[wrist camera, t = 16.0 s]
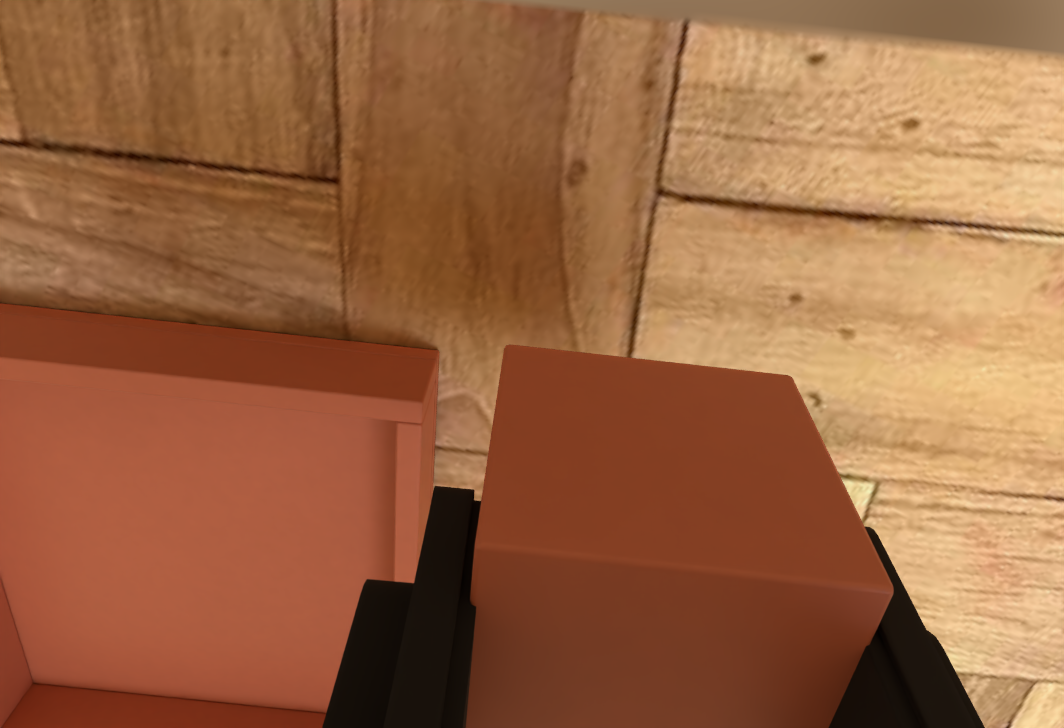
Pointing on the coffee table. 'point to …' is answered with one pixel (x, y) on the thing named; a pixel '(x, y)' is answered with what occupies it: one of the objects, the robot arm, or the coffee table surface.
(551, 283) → the coffee table surface
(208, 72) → the coffee table surface
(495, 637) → the terracotta block
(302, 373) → the dish
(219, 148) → the coffee table surface
